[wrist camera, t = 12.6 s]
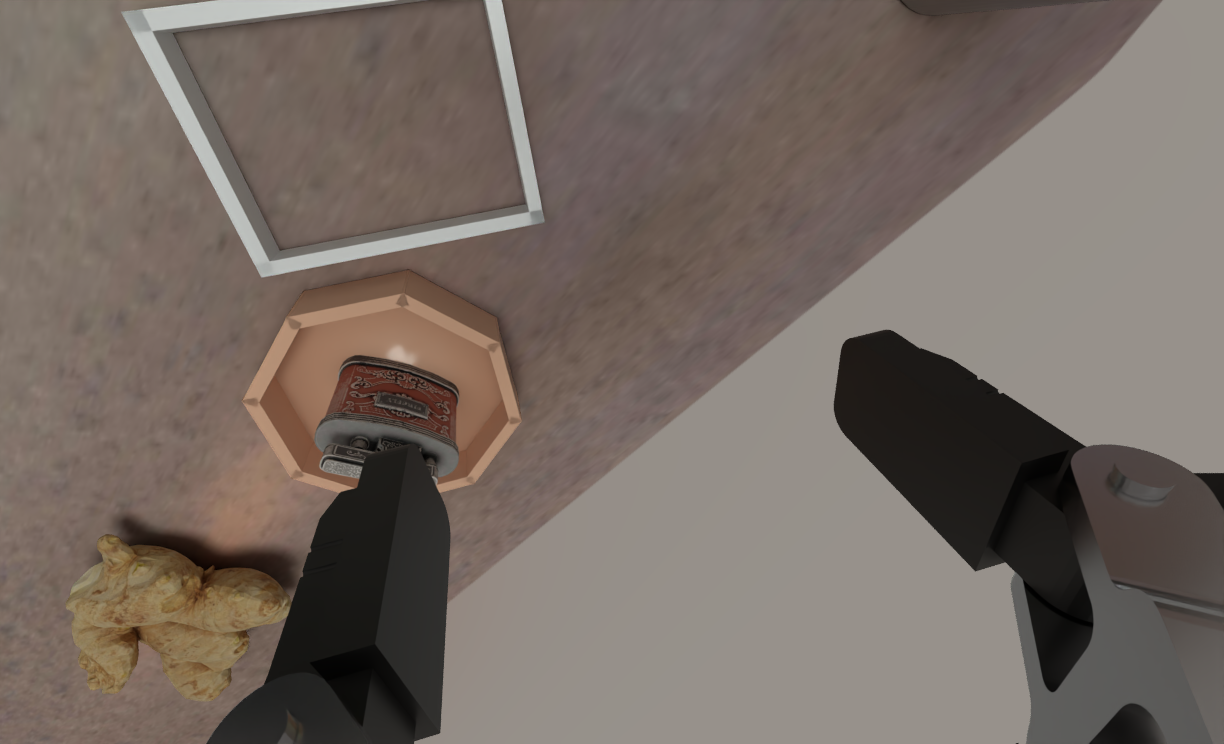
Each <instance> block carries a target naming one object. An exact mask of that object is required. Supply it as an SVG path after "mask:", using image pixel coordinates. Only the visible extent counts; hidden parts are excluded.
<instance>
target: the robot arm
mask: <svg viewBox="0 0 1224 744" xmlns="http://www.w3.org/2000/svg"><path fill="white" fill-rule="evenodd" d="M901 1H902V2H903V3H904V4H905V5H906V6H907V7H908V8H909V9H911V10H913V11H915V12H917V13H919V14H923V15H931V16H936V15H947V14H959V13H970V12H984V11H996V10H1007V9H1018V8H1030V7H1041V6H1052V5H1063V4H1075V3H1086V2H1097V1H1108V0H901ZM834 412H835V417H836V420H837V423H838V425H839V427H840V429H841V430H842V432H843V433H844V434H845V436H846V437H847V438H848V439H849V440H850V441H851V442H852V443H853V444H854V445H855V446H856V447H857V448H858V449H859V450H860V451H861V452H862V454H864V455H865V457H866V458H867V459H868V460H869V461H870V462H871V463H872V464H873V465H874V466H875V467H876V468H877V469H878V470H879V471H880V472H881V473H882V474H883V475H884V476H885V477H886V479H887V480H888V481H889V482H890V483H891V484H892V485H893V486H894V487H895V488H896V489H897V490H898V491H899V492H900V493H901V494H902V495H903V496H904V497H905V498H906V499H907V500H908V501H909V502H910V504H911V505H912V506H913V507H914V508H915V509H916V510H917V511H918V512H919V513H920V514H921V515H922V516H923V517H924V518H925V519H926V520H927V521H928V522H929V523H930V524H931V525H932V526H933V527H934V529H936V531H937V532H938V533H939V534H940V535H941V536H942V537H943V538H944V539H945V540H946V541H947V542H948V543H949V544H950V545H951V546H952V547H953V549H954V550H956V552H957V553H958V554H959V555H960V556H961V557H962V558H963V559H964V560H965V561H966V562H967V563H968V564H969V565H970V566H971V567H972V568H973V569H974V570H975V571H978V570H981V569H985V568H988V567H991V566H995V565H998V564H1001V563H1004V562H1006V563H1007V564H1008V565H1009V566H1010V567H1011V568H1012V569H1013V570H1014V571H1015V573H1014V575H1013V577H1012V581H1011V591H1012V597H1013V602H1014V608H1015V614H1016V619H1017V625H1018V630H1019V636H1020V641H1021V647H1022V653H1023V658H1024V664H1025V669H1026V675H1027V681H1028V686H1029V692H1030V698H1031V718H1030V724H1029V728H1028V733H1027V742H1026V744H1224V473H1192V472H1191V471H1189V470H1187V469H1186V468H1184V467H1183V466H1181V465H1179V464H1177V463H1175V462H1173V461H1171V460H1169V459H1167V458H1164V457H1162V456H1159V455H1157V454H1154V453H1151V452H1148V451H1144V450H1141V449H1136V448H1132V447H1127V446H1120V445H1093V446H1088V447H1086V446H1084V445H1083V444H1081V443H1079V442H1078V441H1076V440H1075V439H1073V438H1072V437H1070V436H1069V435H1067V434H1066V433H1064V432H1063V431H1061V430H1059V429H1058V428H1056V427H1055V426H1053V425H1052V424H1050V423H1049V422H1047V421H1046V420H1044V419H1042V418H1041V417H1039V416H1038V415H1036V414H1035V413H1033V412H1032V411H1030V410H1029V409H1027V408H1026V407H1024V406H1023V405H1021V404H1019V403H1018V402H1016V401H1015V400H1013V399H1012V398H1010V397H1009V396H1007V395H1005V394H1004V393H1001V394H999V393H998V389H996V388H995V387H993V386H992V385H990V384H989V383H987V382H986V381H984V380H983V379H981V380H978V379H977V376H976V375H975V374H973V373H972V372H970V371H969V370H967V369H966V368H964V367H963V366H961V365H960V364H958V363H957V362H955V361H953V360H952V359H949V358H946V357H943V356H941V355H938V354H935V353H932V352H930V351H927V350H924V349H919V348H918V347H916V346H915V345H914V344H912V343H910V342H909V341H908V340H906V339H904V338H903V337H902V336H900V335H898V334H897V333H895V332H894V331H891V330H883V331H878V332H874V333H870V334H866V335H862V336H858V337H854V338H849V339H848V340H846V341H845V342H844V344H843V346H842V349H841V355H840V362H839V370H838V377H837V384H836V392H835V399H834ZM449 555H450V525H449V519H448V514H447V511H446V507H445V504H444V502H443V500H442V498H441V495H440V493H439V491H438V489H437V487H436V484H435V482H434V480H433V478H432V476H431V474H430V471H429V469H428V467H427V465H426V463H425V460H424V458H423V456H422V454H421V452H420V450H419V448H418V447H417V446H416V445H415V444H413V443H412V444H408V445H404V446H399V447H395V448H391V449H387V450H383V451H379V452H375V453H371V454H368V455H367V456H366V458H365V460H364V463H363V467H362V471H361V474H360V478H359V482H358V486H357V488H354V489H350V490H346V491H342V492H340V493H339V495H338V496H337V497H336V499H335V500H334V501H333V502H332V504H331V505H330V506H329V508H328V509H327V510H326V512H325V513H324V514H323V515H322V517H321V518H320V520H319V523H318V526H317V529H316V532H315V535H314V538H313V541H312V544H311V552H310V553H308V556H307V559H306V562H305V565H304V568H303V571H302V572H303V577H301V578H300V580H299V583H298V586H297V589H296V592H295V595H294V598H293V601H292V604H291V607H290V610H289V613H288V616H287V619H286V622H285V625H284V628H283V631H282V634H281V637H280V640H279V643H278V646H277V649H276V652H275V655H274V658H273V661H272V664H271V667H270V670H269V673H268V676H267V678H266V681H265V683H264V685H263V686H261V687H260V688H258V689H256V690H255V691H254V692H252V693H251V694H250V695H248V696H247V697H246V698H244V699H243V700H242V701H241V702H240V703H239V704H238V705H237V706H235V707H234V708H233V709H232V710H231V711H230V713H229V714H228V715H227V716H226V717H225V718H224V719H223V720H222V722H221V723H220V724H219V725H218V727H217V728H216V729H215V731H214V732H213V733H212V735H211V737H210V738H209V740H208V741H207V743H206V744H414V741H417V740H420V739H423V738H426V737H429V736H433V735H436V734H439V733H440V727H441V707H442V688H443V687H442V686H443V669H444V650H445V631H446V610H447V593H448V574H449ZM1016 744H1018V743H1016Z"/></svg>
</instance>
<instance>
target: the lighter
mask: <svg viewBox="0 0 1224 744" xmlns="http://www.w3.org/2000/svg"><path fill="white" fill-rule="evenodd" d="M458 403H459V390H458V388H457V386H456V385H455V384H454V383H452V382H451V381H449V380H447V379H445V378H443V377H441V376H439V375H436V374H434V373H432V372H430V371H427V370H424V369H421V368H419V367H416V366H413V365H411V364H407V363H402V362H398V361H394V360H390V359H386V358H379V357H372V356H364V355H354V356H351V357H348V358H347V359H346V360H345V361H344V362H343V364H342V365H341V367H340V370H339V372H338V383H337V386H336V389H335V391H334V394H333V397H332V399H331V402H330V405H329V407H328V410H327V412H326V415H325V417H324V418H323V419H321V421H320V423H319V425H318V427H317V429H316V432H315V437H314V441H315V444H316V446H317V448H318V449H319V450H320V451H321V452H323V455H322V458H321V461H320V465H319V467H320V469H321V470H323V471H324V472H328V473H333V474H338V475H343V476H348V477H353V478H358V479H359V478H360V474H361V471H362V467H363V463H364V460H365V458H366V456H367V455H368V454H371V453H375V452H379V451H383V450H387V449H391V448H395V447H399V446H404V445H408V444H412V443H413V444H415V445H416V446H417V447H418V448H419V450H420V452H421V454H422V456H423V458H424V460H425V463H426V465H427V467H428V469H429V471H430V474H431V476H432V478H433V480H434V482H435V484H436V485H437V482H438V477H443V476H446V475H448V474H450V473H451V472H452V471H454V469H455V468H456V467H457V465H458V461H459V449H458V446H457V444H456V408H457V406H458Z"/></svg>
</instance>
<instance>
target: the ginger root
mask: <svg viewBox="0 0 1224 744" xmlns="http://www.w3.org/2000/svg"><path fill="white" fill-rule="evenodd" d="M97 548H98V550H99V551H100V552H101V554H102V557H103V562H101V563H99V564H97V565H95V566H93V567H92V568H90V569H89V570H88V571H87V572H86V573H85V574H84V575H83V576H82V577H81V578H80V579H79V580H77V581H76V582H75V583H74V585H73V586H72V588H71V593H70V597H69V598H68V600H67V601H66V607H67V609H68V610H70V611H72V612H74V613H75V614H74V619H73V620H72V635H73V639H74V642H75V645H77V646H78V647H79V648H80V649H82V650H81V652H80V655H79V657H78V661H79V665H80V667H81V668H82V669H86V670H87V671H88V680H87V684H88V685H89V687H90V689H91V690H97V689H99V688H102V694H107V693H118V692H119V691H120V690H121V689H122V688H123V686H124V685H125V683H126V681H128V680H129V677H130V675H131V673H132V671H133V669H134V668H135V667H136V665H137V661H138V653H139V649H138V641H140V642H142V643H144V644H146V645H149V646H150V647H151V648H152V649H154V650H155V651H157V652H159V653H161V654H160V656H161V660H162V663H163V672H164V673H165V674H166V675H167V676H168V678H169V679H170V681H171V682H172V684H173V685H174V687H175V688H176V689H177V690H178V691H179V692H180V693H181V694H182V695H183V696H184V697H185V698H186V699H192V700H197V701H212V700H213V699H215V698H216V697H217V696H218V695H220V693H221V692H222V691H223V689H225V688H226V687H227V686H229V685H230V682H231V680H232V679H231V667H232V666H233V664H234V663H235V662H236V661H237V660H238V659H239V658H240V657H241V656H242V655H243V654H244V653H245V652H246V651H247V648H248V645H249V636H248V635H247V632H246V629H249V628H252V627H258V626H261V625H264V624H273V623H277V622H279V621H281V620H282V619H284V618H285V617H287V616H288V613H289V610H290V607H291V604H292V603H291V600H290V596H289V595H288V594H287V593H286V592H285V591H284V590H283V589H282V587H281V586H280V584H279V583H278V582H277V581H276V580H274V579H273V578H272V577H271V576H269V575H268V574H265V573H263V572H260V571H258V570H254V569H251V568H227V569H220V570H214V568H215V567H214V566H211V567H210V568H209V569H207V570H206V571H204V570H203V569H202V568H201V567H199V566H196V565H195V564H194V563H193V562H192V561H191V560H189V559H188V558H187V557H185V556H183V555H182V554H180V553H178V552H176V551H174V550H171V549H167V548H164V547H160V546H149V545H134V546H129V545H128V544H127V543H125V542H123V541H122V540H121V539H120V538H119V537H117V536H114V535H109V534H106V535H104V536H102V537H100V538H99V539H98V541H97Z"/></svg>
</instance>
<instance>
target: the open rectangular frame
mask: <svg viewBox="0 0 1224 744" xmlns="http://www.w3.org/2000/svg"><path fill="white" fill-rule="evenodd" d="M419 1H427V0H217V1H209V2H200V3H192V4H184V5H175V6H167V7H159V8H151V9H142V10H134V11H126V12H122V14H123V16H124V18H125V20H126V22H127V24H128V26H129V27H130V29H131V31H132V33H133V35H134V37H135V39H136V41H137V43H138V45H139V46H140V48H141V50H142V52H143V54H144V56H145V58H146V60H147V62H148V63H149V65H150V67H151V69H152V71H153V73H154V75H155V77H156V79H157V80H158V82H159V84H160V86H161V88H162V90H163V92H164V94H165V96H166V98H167V99H168V101H169V103H170V105H171V107H172V109H173V111H174V113H175V115H176V116H177V118H178V120H179V122H180V124H181V126H182V128H183V130H184V132H185V133H186V135H187V137H188V139H189V141H190V143H191V145H192V147H193V149H194V151H195V152H196V154H197V156H198V158H199V160H200V162H201V164H202V166H203V168H204V169H205V171H206V173H207V175H208V177H209V179H210V181H211V183H212V185H213V186H214V188H215V190H216V192H217V194H218V196H219V198H220V200H221V202H222V204H223V205H224V207H225V209H226V211H227V213H228V215H229V217H230V219H231V221H232V222H233V224H234V226H235V228H236V230H237V232H238V234H239V236H240V238H241V239H242V241H243V243H244V245H245V247H246V249H247V251H248V253H249V255H250V257H251V258H252V260H253V262H254V264H255V266H256V268H257V270H258V272H259V274H260V275H261V277H267V276H272V275H277V274H283V273H288V272H293V271H298V270H303V269H308V268H313V267H318V266H324V265H329V264H334V263H339V262H344V261H349V260H354V259H360V258H365V257H370V256H375V255H380V254H385V253H390V252H396V251H401V250H406V249H411V248H416V247H421V246H426V245H431V244H437V243H442V242H447V241H452V240H457V239H462V238H467V237H473V236H478V235H483V234H488V233H493V232H498V231H503V230H509V229H514V228H519V227H524V226H529V225H534V224H539V223H545V222H544V217H543V211H542V206H541V201H540V196H539V191H538V186H537V180H536V175H535V170H534V165H533V160H532V155H531V149H530V144H529V139H528V134H527V129H526V124H525V118H524V113H523V108H522V103H521V98H520V93H519V87H518V82H517V77H516V72H515V67H514V62H513V56H512V51H511V46H510V41H509V36H508V31H507V25H506V20H505V15H504V10H503V5H502V0H483V2H484V7H485V12H486V17H487V22H488V26H489V31H490V36H491V41H492V45H493V50H494V55H495V60H496V64H497V69H498V74H499V79H500V84H501V88H502V93H503V98H504V103H505V107H506V112H507V117H508V122H509V126H510V131H511V136H512V141H513V146H514V150H515V155H516V160H517V165H518V169H519V174H520V179H521V184H522V188H523V193H524V198H525V203H526V204H525V205H519V206H514V207H509V208H504V209H498V210H493V211H488V212H482V213H477V214H472V215H466V216H461V217H456V218H450V219H445V220H440V221H435V222H429V223H424V224H419V225H413V226H408V227H403V228H397V229H392V230H387V231H382V232H376V233H371V234H366V235H360V236H355V237H350V238H344V239H339V240H334V241H328V242H323V243H318V244H313V245H307V246H302V247H297V248H291V249H286V250H281V251H280V250H279V248H278V246H277V244H276V242H275V240H274V238H273V236H272V234H271V232H270V230H269V228H268V226H267V224H266V222H265V220H264V218H263V216H262V213H261V211H260V209H259V207H258V205H257V203H256V201H255V199H254V197H253V195H252V193H251V191H250V189H249V187H248V185H247V183H246V181H245V179H244V177H243V175H242V173H241V171H240V169H239V167H238V165H237V163H236V161H235V159H234V157H233V155H232V153H231V151H230V148H229V146H228V144H227V142H226V140H225V138H224V136H223V134H222V132H221V130H220V128H219V126H218V124H217V122H216V120H215V118H214V116H213V114H212V112H211V110H210V108H209V106H208V104H207V102H206V100H205V98H204V96H203V94H202V92H201V90H200V88H199V86H198V84H197V81H196V79H195V77H194V75H193V73H192V71H191V69H190V67H189V65H188V63H187V61H186V59H185V57H184V55H183V53H182V51H181V49H180V47H179V45H178V43H177V41H176V39H175V37H174V35H173V33H176V32H184V31H192V30H199V29H207V28H215V27H223V26H231V25H239V24H246V23H254V22H262V21H270V20H278V19H286V18H294V17H301V16H309V15H317V14H325V13H333V12H341V11H349V10H356V9H364V8H372V7H380V6H388V5H396V4H403V3H411V2H419Z"/></svg>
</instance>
